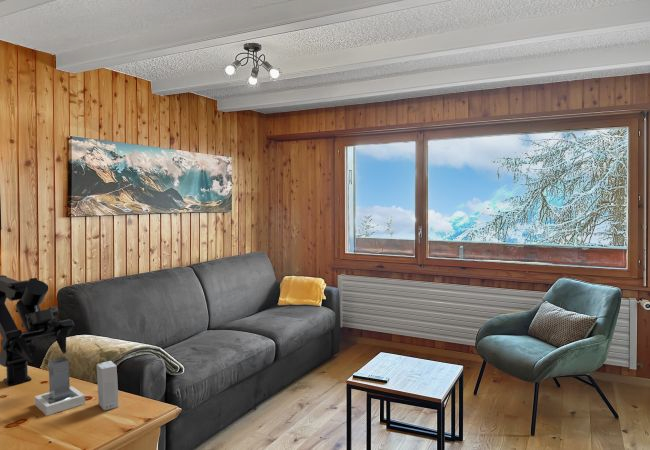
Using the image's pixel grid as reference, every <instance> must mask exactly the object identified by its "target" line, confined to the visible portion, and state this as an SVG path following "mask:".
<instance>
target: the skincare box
mask: <svg viewBox="0 0 650 450" xmlns="http://www.w3.org/2000/svg"><path fill="white" fill-rule="evenodd" d="M117 368H118V367H117V365H116V363H114V362H113V361H112V360H108V361H103V362H99V363H96V377H97V378H96V379H97V396H98V405H99V407H101V409H102V410H103V411H108V410H113V409H116V408H119V407H120V406H119V388H118V387H119V385H118V372H117V371H118V369H117Z"/></svg>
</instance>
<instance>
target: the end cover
mask: <svg viewBox="0 0 650 450" xmlns="http://www.w3.org/2000/svg"><path fill="white" fill-rule="evenodd" d="M48 380H49V381H48V383H49V385H48V386H49V387H48V389H49V392H50V398H48V403H49V404H52V403H55V402H59V401H62V400H65V399H69V398H72V395H71V394H70V360H69V359H68V358H66V357H64V356H63V357H59V358H53V359H50V360H48Z"/></svg>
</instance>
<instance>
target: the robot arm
mask: <svg viewBox="0 0 650 450" xmlns="http://www.w3.org/2000/svg"><path fill="white" fill-rule="evenodd" d="M48 291H49V285H48V284H47V283H46V282H44V281H42V280H38V278H37V277H33V278H29V279H28V280H27V279H26V280H19V281H18V279H17V280H16V279H14V278H10V277H8V276H7V275H4V274H2V275H1V274H0V336H1V337H2V339H1V341H0V346H1V348H2V350H1V352H0V366H2V367H4V368H6V378H3V379H2V380H3V382H4V383H5V384H6V385H8V386H13V385H17V384H20V383H25V382H29V381H32V377H31V376H30V375H29V374H28V373H29V372H28V371H29V370H28V368H29V367H28V362H29V363H32V362H33V361H34V359H35V358H36V356H35V355H36V349H37V348H36V347H37V346H36V344H35V342H34V341H33V339H34V338H38V337H45V336H47V335H53V334H54V336H55V337H56V338H55V340H56V342H57V345H58V347H59V349H60V350H61V353H62V354H63V355H64V354H67V353H66V352H67V337H68V336H70V334H71V332H72V331H73V329H74V327H75V323H74V320H72V319H64V320H59V321H58V322H57V323H56V325H55V326H52V327H51V324H52V320H55V318H57V317H59V316H60V311H59V308H58V307H57V305H53V306H50V307H48V308H47V309H41V307H40V304H42V303H43V301H44V299H45V297H46V295H47V293H48ZM7 299H8V300H9V301H10V302H13V301H17V303H16V305H15V313H18V315H19V318H20V320H21V325H20V327H21V328H24V330H25V331H22V330H21V329H19V328H18V325H17V324H16V322H15V320H14V319H13V317H12V315H11V313H10V311H9V309H8V307H7V305H6V301H7ZM49 326H50V327H49Z"/></svg>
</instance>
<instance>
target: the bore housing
mask: <svg viewBox="0 0 650 450" xmlns="http://www.w3.org/2000/svg"><path fill="white" fill-rule="evenodd" d="M70 394H71V395H72V398H69V399H65V400H62V401H59V402H55V403H52V404H49V403H48V398H50V391H48V392H45V393H41V394H39V395H34V406H36V407H37V408H38V409H39V410H40V411H41V412H42V413H43V414H44V415H45V416H47V417H48V416H50V415H53V414H54V415H55V414H57V413H60V412H64V411H66V410H69V409H73V408H76V407H79V406H82V405H85V404H86V395H85V394H84V393H82V392H81V391H79V390H78V389H76V388H75V387H74V386H72V385H71V386H70Z"/></svg>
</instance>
